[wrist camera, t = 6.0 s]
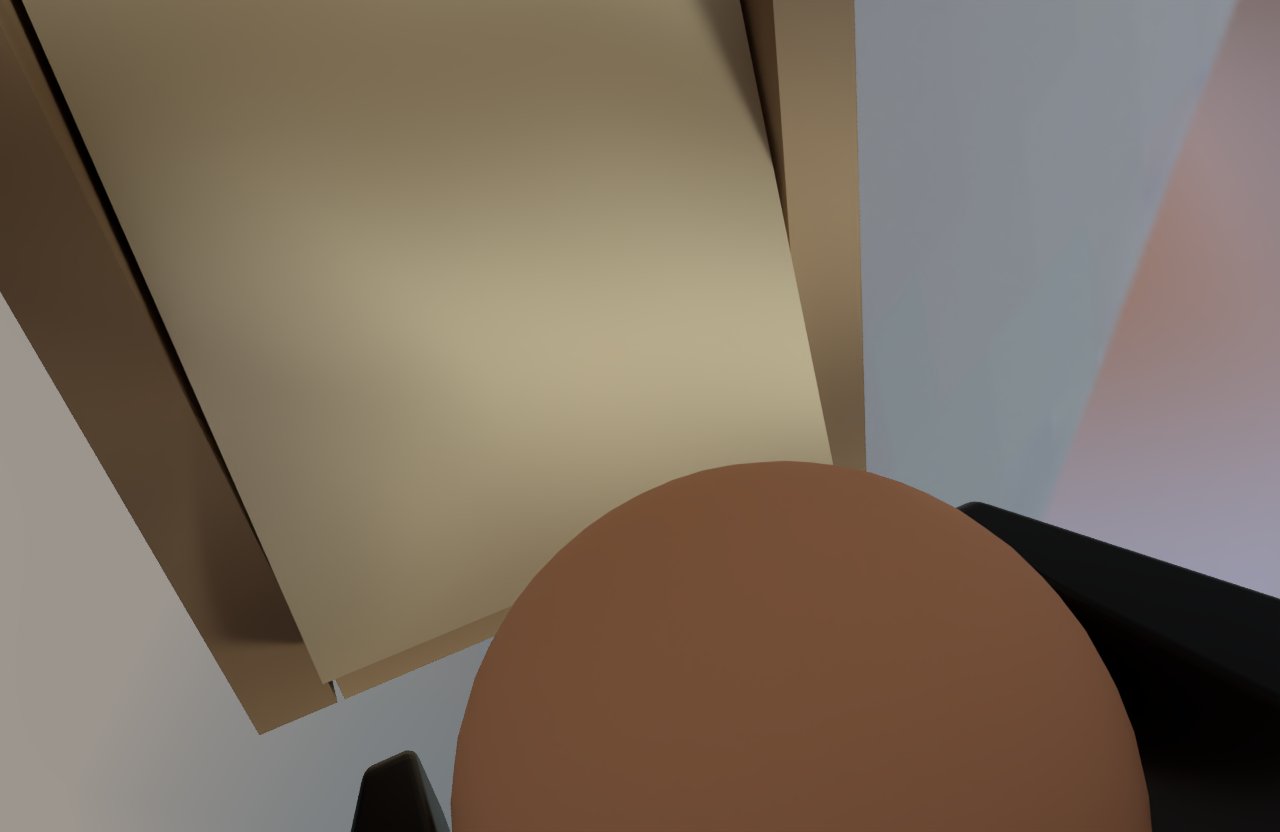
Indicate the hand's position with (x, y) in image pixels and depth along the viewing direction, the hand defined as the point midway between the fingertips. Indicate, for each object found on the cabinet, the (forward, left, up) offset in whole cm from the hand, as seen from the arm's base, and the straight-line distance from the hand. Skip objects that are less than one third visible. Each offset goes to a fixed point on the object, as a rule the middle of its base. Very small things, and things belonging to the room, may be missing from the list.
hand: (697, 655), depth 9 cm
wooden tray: (+10, -4, -7) cm, 12 cm away
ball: (0, 0, +2) cm, 2 cm away
